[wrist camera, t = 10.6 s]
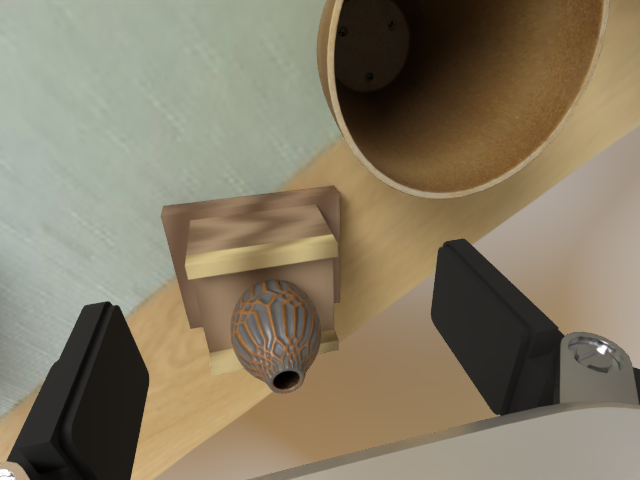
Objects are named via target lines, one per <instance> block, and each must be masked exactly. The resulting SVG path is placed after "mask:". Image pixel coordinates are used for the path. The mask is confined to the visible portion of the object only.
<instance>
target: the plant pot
mask: <svg viewBox="0 0 640 480" xmlns="http://www.w3.org/2000/svg"><path fill="white" fill-rule="evenodd" d="M609 5H610V0H327V1H326V4H325V7H324V10H323V13H322V16H321V20H320V25H319V31H318V38H317V62H318V70H319V76H320V80H321V85H322V89H323V92H324V95H325V98H326V100H327V103H328V106H329V108H330V110H331V113H332V115H333V117H334V119H335V121H336V123H337V125H338V127H339V129H340V131H341V133H342V135H343V137H344V138H345V140H346V142H347V144H348V145H349V147H350V148H351V150H352V152H353V153H354V154H355V156H356V157H357V158H358V160H359V161H360V162H361V163H362V164H363V165H364V166H365V167H366V168H367V169H368V170H369V171H370V172H371V173H372V174H373V175H374V176H376V177H377V178H378V179H380V180H381V181H382V182H384V183H385V184H387V185H389V186H391V187H392V188H394V189H397V190H399V191H401V192H404V193H407V194H410V195H414V196H418V197H424V198H431V199H447V198H456V197H462V196H466V195H470V194H473V193H476V192H479V191H482V190H485V189H488V188H490V187H492V186H494V185H496V184H498V183H500V182H502V181H504V180H505V179H507V178H509V177H510V176H512V175H513V174H515V173H517V172H518V171H519V170H521V169H522V168H524V167H525V166H526V165H527V164H528V163H530V162H531V161H532V160H533V159H534V158H535V157H537V156H538V155H539V154H540V153H541V152H542V151H543V150H544V149H545V148H546V147H547V146H548V144H549V143H550V142H551V141H552V140H553V139H554V138H555V136H556V135H557V134H558V133H559V132H560V130H561V129H562V128H563V126H564V125H565V123H566V122H567V121H568V119H569V118H570V116H571V115H572V113H573V112H574V110H575V108H576V107H577V105H578V103H579V101H580V100H581V98H582V96H583V94H584V92H585V90H586V88H587V86H588V84H589V82H590V80H591V77H592V75H593V73H594V70H595V67H596V64H597V61H598V58H599V55H600V52H601V48H602V45H603V41H604V36H605V31H606V26H607V20H608V13H609ZM391 21H393V25H392V26H389V23H390V22H391ZM340 31H342V32H343V34H344V35H343V36H341V35H340V34H339V32H340ZM369 74H372V78H371V79H369Z"/></svg>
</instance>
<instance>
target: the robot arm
mask: <svg viewBox="0 0 640 480" xmlns="http://www.w3.org/2000/svg"><path fill="white" fill-rule="evenodd" d="M431 318H432V321H433V323H434V325H435V327H436V328H437V330H438V331H439V333H440V334H441V336H442V337H443V339H444V340H445V342H446V343H447V344H448V346H449V348H450V349H451V350H452V352H453V353H454V355H455V356H456V358H457V359H458V361H459V362H460V364H461V365H462V367H463V368H464V370H465V371H466V373H467V374H468V376H469V377H470V379H471V380H472V382H473V383H474V385H475V386H476V388H477V389H478V391H479V392H480V394H481V395H482V396H483V398H484V399H485V401H486V402H487V404H488V406H489V407H490V409H491V410H492V411H493V412H494V413H495V414H497V415H499V414H500V415H501V416H499V417H494V418H490V419H486V420H481V421H477V422H473V423H469V424H465V425H461V426H457V427H453V428H450V429H445V430H441V431H437V432H433V433H429V434H425V435H421V436H417V437H413V438H409V439H405V440H401V441H397V442H393V443H389V444H385V445H381V446H377V447H373V448H369V449H365V450H361V451H357V452H353V453H350V454H346V455H342V456H338V457H334V458H330V459H326V460H323V461H318V462H314V463H311V464H306V465H303V466H299V467H295V468H291V469H287V470H283V471H279V472H275V473H272V474H268V475H264V476H260V477H256V478H253V479H248V480H640V369H637V368H634V367H633V366H632V363H631V360H630V358H629V356H628V355H627V354H626V353H625V351H624V350H623V349H622V348H620V347H619V346H618V345H617V344H615V343H614V342H612V341H610V340H608V339H606V338H604V337H602V336H599V335H596V334H592V333H586V332H573V333H570V334H567V335H566V336H564V335H563V334H562V333H561V332H560V331H559V330H558V327H557V326H556V325H555V324H554V323H553V322H552V321H551V320H550V319H549V318H548V317H547V316H546V315H545V314H544V313H543V312H542V311H541V310H539V309H538V308H537V307H536V306H535V305H534V304H533V303H532V302H531V301H530V300H529V299H528V298H527V297H526V296H525V295H524V294H523V293H522V292H520V291H519V290H518V289H517V288H516V287H515V286H514V285H513V284H512V283H511V282H510V281H509V280H508V279H507V278H506V277H505V276H504V275H502V274H501V273H500V272H499V271H498V270H497V269H496V268H495V267H494V266H493V265H492V264H491V263H490V262H489V261H488V260H487V259H486V258H485V257H484V256H483V255H481V254H480V253H479V252H478V251H477V250H476V249H475V248H474V247H473V246H472V245H471V244H470V243H469V242H468V241H467V240H465V239H458V240H452V241H446V242H445V243H444V244H443V247H440V248H439V250H438V256H437V265H436V273H435V282H434V291H433V300H432V308H431ZM148 387H149V374H148V370H147V368H146V366H145V363H144V361H143V359H142V357H141V354H140V352H139V350H138V347H137V345H136V343H135V341H134V338H133V336H132V334H131V332H130V329H129V327H128V325H127V322H126V320H125V318H124V316H123V313H122V311H121V309H120V307H119V306H118V305H115V306H113V305H112V304H111V303H110V302H108V301H107V302H101V303H96V304H90V305H86V306H84V308H83V309H82V311H81V313H80V315H79V318H78V320H77V322H76V324H75V326H74V328H73V330H72V333H71V335H70V337H69V339H68V341H67V343H66V346H65V348H64V350H63V352H62V354H61V356H60V358H59V360H58V361H57V362H55V363H54V364H53V366H52V367H51V369H50V371H49V373H48V375H47V377H46V379H45V381H44V384H43V386H42V388H41V390H40V392H39V394H38V396H37V398H36V400H35V402H34V405H33V407H32V409H31V411H30V413H29V415H28V417H27V419H26V421H25V423H24V425H23V428H22V430H21V432H20V434H19V436H18V438H17V440H16V442H15V444H14V446H13V448H12V451H11V453H10V455H9V457H8V459H7V461H6V462H1V463H0V480H130V479H131V473H132V468H133V463H134V458H135V453H136V448H137V443H138V438H139V433H140V427H141V422H142V417H143V412H144V407H145V402H146V397H147V392H148Z"/></svg>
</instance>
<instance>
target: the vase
mask: <svg viewBox="0 0 640 480" xmlns="http://www.w3.org/2000/svg"><path fill="white" fill-rule="evenodd" d="M230 335H231V343H232V346H233V349H234V352H235V354H236V356H237V358H238V360H239V362H240V363H241V365H242V366H243V367H244V368H245V370H246V371H248V372H249V373H250V374H251V375H253V376H254V377H256V378H258V379H260V380H261V381H263V382H265V383H266V384H267V385H268V386H269V388H270V389H271V390H272V391H274V392H276V393H289V392H292V391H294V390H296V389H298V388H299V387H300V386H301V385H302V383H303V381H304V378H305V374H306V372H307V370H308V369H309V367H310V366H311V365H312V363H313V361H314V360H315V358H316V356H317V354H318V351H319V348H320V343H321V322H320V318H319V315H318V312H317V309H316V307H315V305H314V303H313V301H312V300H311V298H310V297H309V296H308V295H307V294H306V293H305V292H304V291H303V290H302V289H301V288H300V287H298V286H297V285H295V284H293V283H291V282H288V281H285V280H266V281H262V282H260V283H257V284H255V285H253V286H252V287H250V288H249V289H248V290H246V291H245V292H244V293H243V294H242V296H241V297H240V299H239V300H238V302H237V303H236V305H235V308H234V310H233V314H232V317H231V325H230Z"/></svg>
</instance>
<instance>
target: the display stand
mask: <svg viewBox="0 0 640 480" xmlns="http://www.w3.org/2000/svg"><path fill="white" fill-rule="evenodd" d="M161 219H162V222H163V226H164V230H165V234H166V237H167V241H168V245H169V249H170V253H171V256H172V260H173V264H174V268H175V272H176V275H177V279H178V283H179V287H180V291H181V294H182V298H183V302H184V306H185V309H186V313H187V317H188V321H189V325H190V328H191V329H192V328H198V327H204V332H205V336H206V340H207V344H208V348H209V352H210V370H211V374H212V375H216V374H221V373H226V372H231V371H236V370H241V369H245V368H244V367H243V366H242V365H241V363H240V362H239V360H238V358H237V356H236V354H235V352H234V349H233V346H232V343H231V335H230V325H231V317H232V314H233V310H234V308H235V305H236V303H237V302H238V300H239V299H240V297H241V296H242V294H243V293H244V292H245V291H246V290H248V289H249V288H250V287H252V286H253V285H255V284H257V283H260V282H262V281H266V280H285V281H288V282H291V283H293V284H295V285H297V286H298V287H300V288H301V289H302V290H303V291H304V292H305V293H306V294H307V295H308V296H309V297H310V298H311V300H312V301H313V303H314V305H315V307H316V309H317V312H318V315H319V318H320V322H321V343H320V348H319V351H318V354H320V353H325V352H330V351H335V350H338V338H337V335H336V333H335V330H334V303H338V302H340V199H339V192H338V191H337V189H336V188H335V187H334V186H328V187H320V188H311V189H303V190H295V191H286V192H278V193H270V194H261V195H253V196H245V197H236V198H228V199H220V200H211V201H203V202H195V203H186V204H178V205H170V206H163V209H162V213H161Z"/></svg>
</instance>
